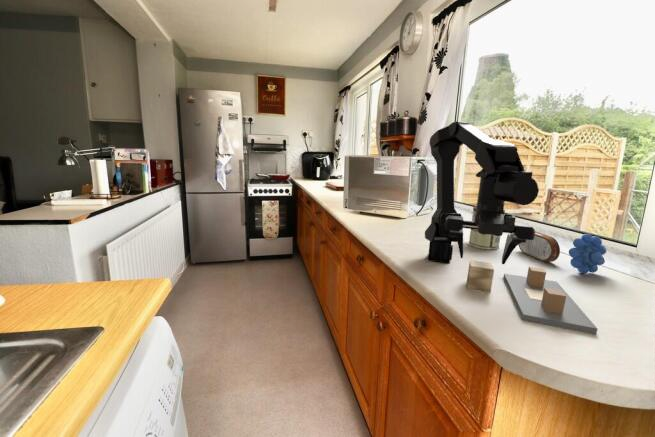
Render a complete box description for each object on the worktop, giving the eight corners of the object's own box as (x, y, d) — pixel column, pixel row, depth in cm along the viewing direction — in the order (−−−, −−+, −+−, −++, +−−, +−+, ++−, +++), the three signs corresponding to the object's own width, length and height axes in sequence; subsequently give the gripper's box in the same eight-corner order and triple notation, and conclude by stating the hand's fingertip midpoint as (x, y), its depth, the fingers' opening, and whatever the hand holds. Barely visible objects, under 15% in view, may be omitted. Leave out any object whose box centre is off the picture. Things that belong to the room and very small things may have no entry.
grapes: (579, 280, 84) (589, 237, 81) (558, 270, 90) (566, 231, 88) (615, 279, 86) (625, 237, 83) (591, 270, 92) (600, 231, 90)
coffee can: (470, 240, 121) (475, 205, 118) (499, 245, 116) (505, 208, 113) (466, 246, 113) (471, 208, 110) (497, 251, 107) (504, 212, 104)
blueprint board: (522, 319, 61) (526, 295, 60) (503, 277, 83) (506, 259, 82) (596, 334, 57) (602, 308, 56) (555, 285, 79) (559, 266, 78)
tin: (558, 265, 95) (563, 239, 94) (549, 265, 95) (554, 239, 93) (522, 250, 110) (526, 227, 108) (514, 250, 110) (518, 227, 108)
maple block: (467, 289, 75) (471, 266, 74) (466, 281, 80) (469, 259, 79) (490, 293, 74) (494, 269, 72) (488, 285, 78) (491, 263, 77)
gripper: (448, 198, 68) (440, 265, 71) (547, 207, 62) (533, 279, 65) (449, 193, 78) (441, 251, 82) (534, 200, 72) (522, 263, 75)
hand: (481, 260), depth 75 cm, fingers open, 9 cm apart
